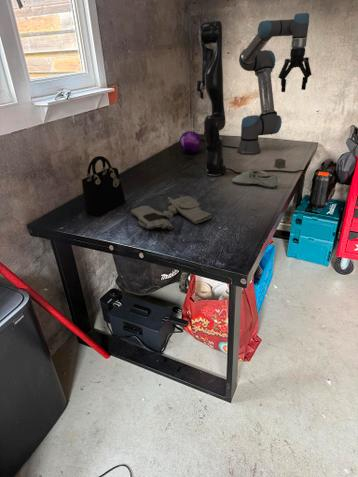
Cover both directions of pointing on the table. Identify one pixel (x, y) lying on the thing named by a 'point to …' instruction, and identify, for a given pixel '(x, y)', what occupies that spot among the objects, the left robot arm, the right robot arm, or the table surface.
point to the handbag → (102, 188)
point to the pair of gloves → (170, 213)
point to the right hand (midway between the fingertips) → (293, 90)
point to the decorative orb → (190, 142)
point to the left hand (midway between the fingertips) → (208, 98)
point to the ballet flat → (256, 179)
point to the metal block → (280, 163)
